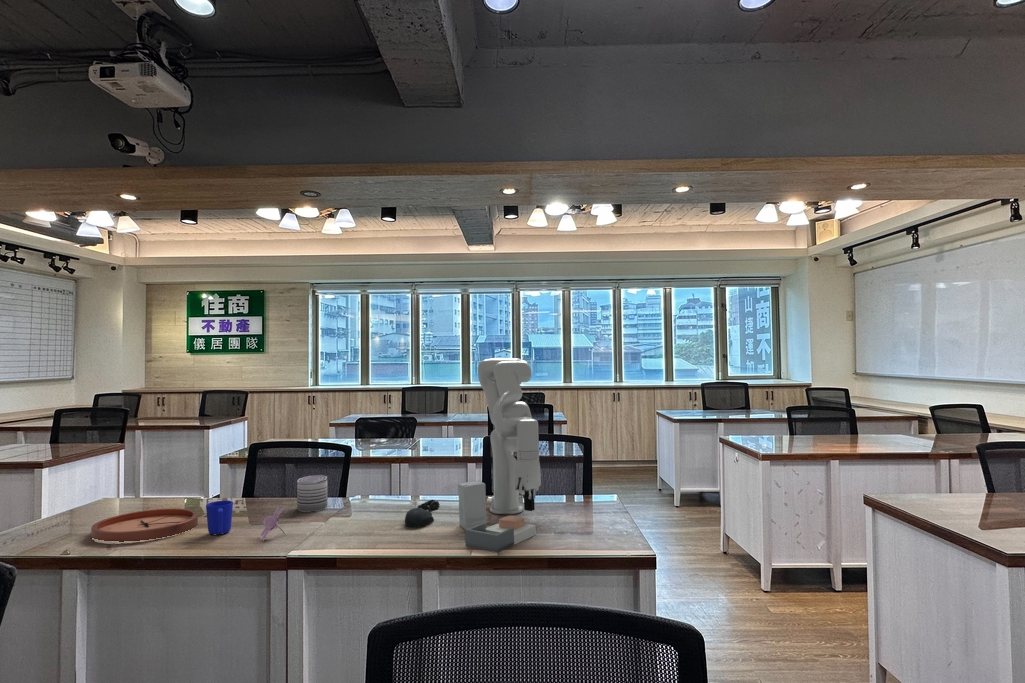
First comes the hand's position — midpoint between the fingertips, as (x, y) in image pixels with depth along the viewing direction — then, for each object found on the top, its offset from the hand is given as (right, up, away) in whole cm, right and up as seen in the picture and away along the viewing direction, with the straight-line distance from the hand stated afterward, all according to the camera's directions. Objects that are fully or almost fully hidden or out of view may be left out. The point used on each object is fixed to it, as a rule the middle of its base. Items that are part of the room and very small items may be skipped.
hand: (529, 510), depth 201 cm
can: (-84, -9, +32) cm, 90 cm away
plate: (-7, -6, -9) cm, 12 cm away
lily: (-85, -8, -6) cm, 85 cm away
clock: (-132, -9, +5) cm, 133 cm away
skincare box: (-19, -7, +4) cm, 21 cm away
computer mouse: (-38, -8, +18) cm, 43 cm away
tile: (-6, -3, -8) cm, 10 cm away
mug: (-104, -8, -2) cm, 104 cm away
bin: (-13, -6, -18) cm, 22 cm away
